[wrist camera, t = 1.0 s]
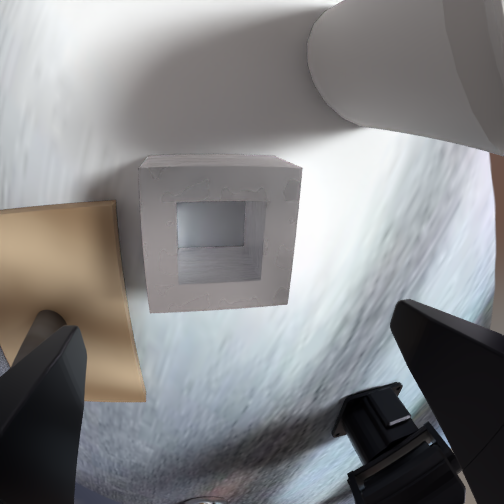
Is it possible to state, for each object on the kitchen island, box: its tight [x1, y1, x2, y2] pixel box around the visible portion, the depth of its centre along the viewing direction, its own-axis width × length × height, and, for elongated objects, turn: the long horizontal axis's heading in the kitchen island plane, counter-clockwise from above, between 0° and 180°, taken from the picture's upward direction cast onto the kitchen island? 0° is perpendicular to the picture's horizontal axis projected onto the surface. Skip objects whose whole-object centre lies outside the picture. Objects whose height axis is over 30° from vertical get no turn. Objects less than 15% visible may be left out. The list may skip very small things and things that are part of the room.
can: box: [307, 0, 504, 156], centre depth 9 cm, size 8×8×12 cm
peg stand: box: [0, 200, 146, 402], centre depth 14 cm, size 14×10×6 cm
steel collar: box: [138, 154, 302, 313], centre depth 15 cm, size 6×6×4 cm
